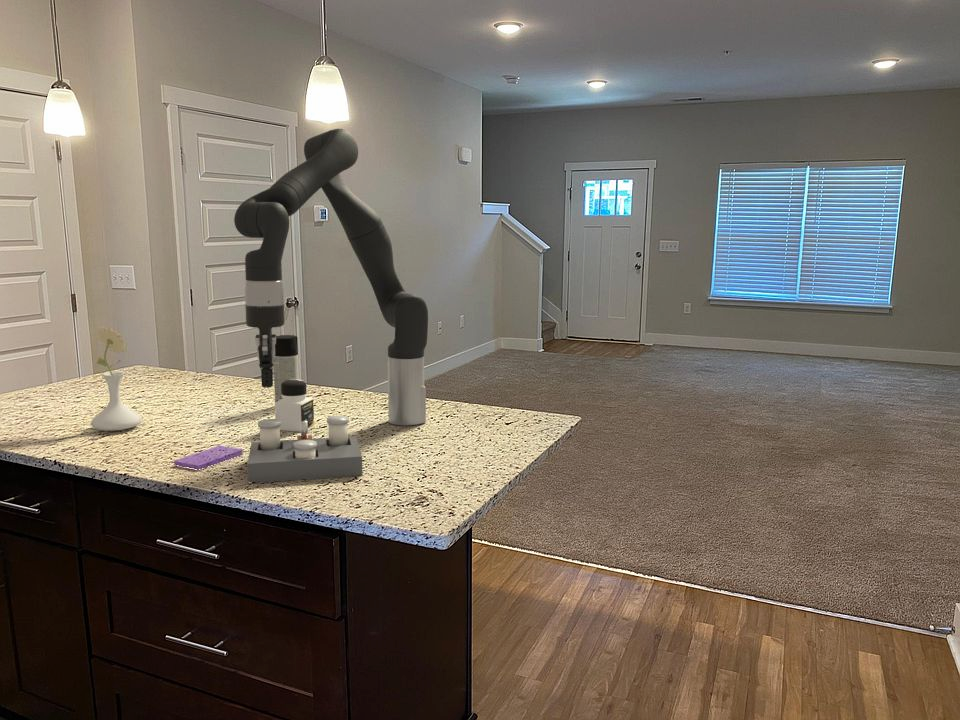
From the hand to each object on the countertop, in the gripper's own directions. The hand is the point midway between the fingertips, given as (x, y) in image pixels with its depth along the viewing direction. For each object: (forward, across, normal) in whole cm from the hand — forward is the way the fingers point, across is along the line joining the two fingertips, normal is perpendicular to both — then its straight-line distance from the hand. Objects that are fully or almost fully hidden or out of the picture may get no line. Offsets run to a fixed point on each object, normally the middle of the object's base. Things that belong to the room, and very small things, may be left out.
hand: (267, 386), depth 150 cm
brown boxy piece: (+13, 0, -7) cm, 15 cm away
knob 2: (+13, 0, -14) cm, 19 cm away
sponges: (+18, +6, +13) cm, 22 cm away
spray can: (+17, +51, -3) cm, 54 cm away
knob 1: (+13, 0, 0) cm, 13 cm away
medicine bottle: (+17, +29, -5) cm, 34 cm away
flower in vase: (+17, +38, +38) cm, 56 cm away
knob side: (+16, -7, -7) cm, 19 cm away
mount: (+17, -3, -7) cm, 18 cm away
